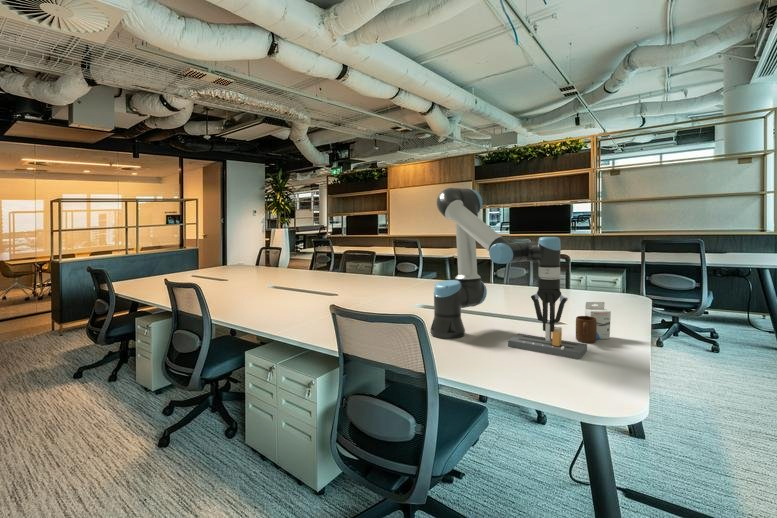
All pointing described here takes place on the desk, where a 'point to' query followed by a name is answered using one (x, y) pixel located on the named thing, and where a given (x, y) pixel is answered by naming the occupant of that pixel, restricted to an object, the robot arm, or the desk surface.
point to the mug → (586, 329)
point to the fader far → (558, 328)
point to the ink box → (599, 318)
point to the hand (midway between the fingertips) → (548, 339)
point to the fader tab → (556, 337)
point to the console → (548, 346)
